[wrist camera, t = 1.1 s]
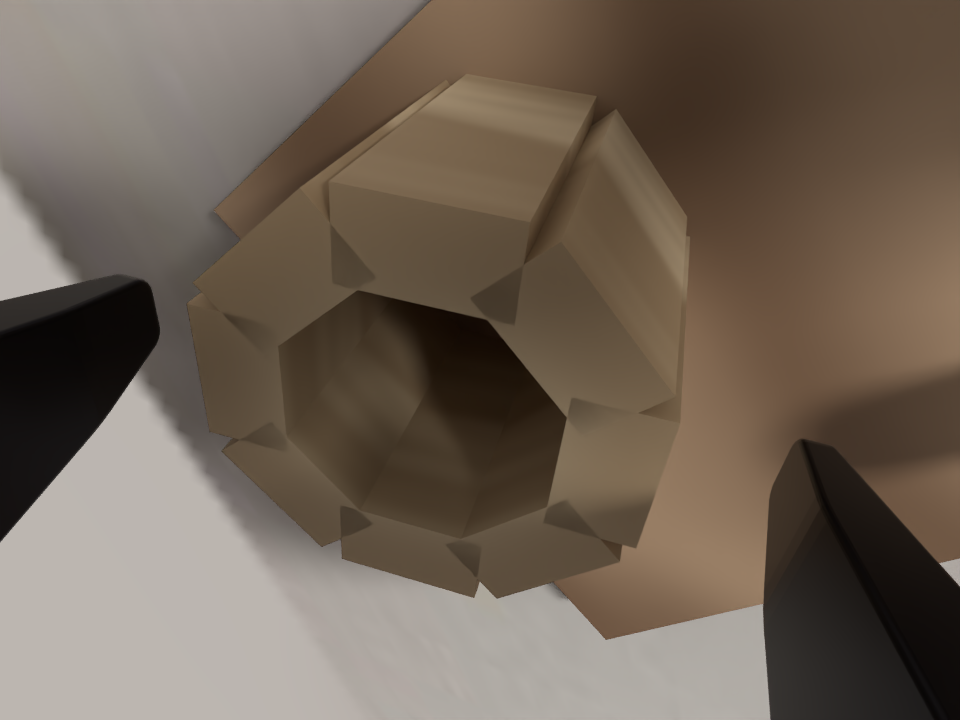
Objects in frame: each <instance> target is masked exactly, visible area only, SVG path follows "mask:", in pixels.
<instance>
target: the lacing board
mask: <svg viewBox="0 0 960 720" xmlns="http://www.w3.org/2000/svg"><path fill="white" fill-rule="evenodd" d="M466 74H470V75H475V76H481V77H487V78H493V79H499V80H505V81H511V82H517V83H523V84H528V85H534V86H540V87H546V88H552V89H558V90H564V91H570V92H575V93H581V94H587V95H593V96H597V98H596V104H595V109H594V114H593V119H592V125H591V126H593V125H594V124H595V123H597V122H598V121H600V120H601V119H602V118H604V117H605V116H607V115H608V114H610V113H611V112H612V111H614V110H615V109H617V111H618V112H619V114H620V115H621V117H622V118H623V120H624V121H625V123H626V124H627V126H628V127H629V129H630V131H631V132H632V134H633V135H634V137H635V138H636V140H637V141H638V143H639V144H640V146H641V147H642V149H643V150H644V152H645V153H646V155H647V156H648V158H649V159H650V161H651V162H652V164H653V166H654V167H655V169H656V170H657V172H658V173H659V175H660V176H661V178H662V179H663V181H664V182H665V184H666V185H667V187H668V188H669V190H670V191H671V193H672V194H673V196H674V197H675V199H676V201H677V202H678V204H679V205H680V207H681V208H682V210H683V211H684V213H685V214H686V216H687V228H686V236H689V237H690V249H689V268H688V287H687V305H686V324H685V343H684V362H683V381H682V399H681V418H680V426H679V428H678V431H677V434H676V437H675V440H674V443H673V445H672V448H671V451H670V454H669V457H668V460H667V463H666V465H665V468H664V471H663V474H662V477H661V480H660V482H659V485H658V488H657V491H656V494H655V497H654V500H653V502H652V505H651V508H650V511H649V514H648V517H647V519H646V522H645V525H644V528H643V531H642V534H641V537H640V539H639V542H638V545H637V548H632V547H629V546H625V545H622V551H621V558H620V562H619V563H615V564H612V565H609V566H605V567H602V568H599V569H595V570H592V571H588V572H585V573H582V574H578V575H575V576H572V577H568V578H565V579H561V580H558V581H555V582H554V583H555V584H556V586H557V587H558V588H559V589H560V590H561V591H562V592H563V593H564V594H565V595H566V596H567V598H568V599H569V600H570V601H571V602H572V603H573V604H574V605H575V606H576V607H577V609H578V610H579V611H580V612H581V613H582V614H583V615H584V616H585V617H586V618H587V619H588V621H589V622H590V623H591V624H592V625H593V626H594V627H595V628H596V629H597V630H598V632H599V633H600V634H601V635H602V636H603V637H604V638H605V639H606V640H607V639H612V638H616V637H620V636H625V635H629V634H633V633H638V632H642V631H646V630H651V629H655V628H659V627H664V626H668V625H672V624H677V623H681V622H685V621H690V620H694V619H698V618H703V617H707V616H711V615H716V614H720V613H724V612H729V611H733V610H737V609H742V608H746V607H750V606H755V605H759V604H763V599H764V578H765V561H766V543H767V525H768V508H769V498H770V493H771V489H772V486H773V483H774V481H775V479H776V477H777V475H778V473H779V471H780V469H781V467H782V465H783V463H784V461H785V459H786V457H787V455H788V453H789V451H790V449H791V447H792V445H793V444H794V443H795V442H796V441H797V440H799V439H801V438H804V439H808V440H812V441H817V442H821V443H825V444H829V445H832V446H833V447H835V448H836V449H837V450H838V451H839V452H840V453H841V454H842V456H843V457H844V458H845V459H846V460H847V461H848V462H849V463H850V464H851V466H852V467H853V468H854V469H855V470H856V471H857V472H858V473H859V475H860V476H861V477H862V478H863V479H864V480H865V481H866V482H867V483H868V485H869V486H870V487H871V488H872V489H873V490H874V491H875V492H876V494H877V495H878V496H879V497H880V498H881V499H882V500H883V501H884V502H885V504H886V505H887V506H888V507H889V508H890V509H891V510H892V511H893V512H894V514H895V515H896V516H897V517H898V518H899V519H900V520H901V521H902V523H903V524H904V525H905V526H906V527H907V528H908V529H909V530H910V531H911V533H912V534H913V535H914V536H915V537H916V538H917V539H918V540H919V542H920V543H921V544H922V545H923V546H924V547H925V548H926V549H927V550H928V552H929V553H930V554H931V555H932V556H933V557H934V558H935V559H936V561H937V562H938V563H941V562H946V561H950V560H954V559H959V558H960V0H431V1H430V2H429V3H428V4H427V5H426V6H425V7H424V8H423V9H422V10H421V11H420V12H419V13H418V14H417V15H416V16H415V17H414V18H413V19H412V20H411V21H410V22H409V23H407V24H406V25H405V26H404V27H403V28H402V29H401V30H400V31H399V32H398V33H397V34H396V35H395V36H394V37H393V38H392V39H391V40H390V41H389V42H388V43H387V44H386V45H385V46H384V47H383V48H382V49H380V50H379V51H378V52H377V53H376V54H375V55H374V56H373V57H372V58H371V59H370V60H369V61H368V62H367V63H366V64H365V65H364V66H363V67H362V68H361V69H360V70H359V71H358V72H357V73H356V74H354V75H353V76H352V77H351V78H350V79H349V80H348V81H347V82H346V83H345V84H344V85H343V86H342V87H341V88H340V89H339V90H338V91H337V92H336V93H335V94H334V95H333V96H332V97H331V98H330V99H328V100H327V101H326V102H325V103H324V104H323V105H322V106H321V107H320V108H319V109H318V110H317V111H316V112H315V113H314V114H313V115H312V116H311V117H310V118H309V119H308V120H307V121H306V122H305V123H304V124H303V125H301V126H300V127H299V128H298V129H297V130H296V131H295V132H294V133H293V134H292V135H291V136H290V137H289V138H288V139H287V140H286V141H285V142H284V143H283V144H282V145H281V146H280V147H279V148H278V149H277V150H275V151H274V152H273V153H272V154H271V155H270V156H269V157H268V158H267V159H266V160H265V161H264V162H263V163H262V164H261V165H260V166H259V167H258V168H257V169H256V170H255V171H254V172H253V173H252V174H251V175H250V176H248V177H247V178H246V179H245V180H244V181H243V182H242V183H241V184H240V185H239V186H238V187H237V188H236V189H235V190H234V191H233V192H232V193H231V194H230V195H229V196H228V197H227V198H226V199H225V200H224V201H222V202H221V203H220V204H219V205H218V206H217V207H216V208H215V209H214V211H215V212H216V213H217V214H218V216H219V217H220V218H221V219H222V220H223V221H224V222H225V223H226V224H227V225H228V226H229V228H230V229H231V230H232V231H233V232H234V233H235V234H236V235H237V236H238V237H239V239H240V240H241V239H242V238H244V237H245V236H246V235H247V234H248V233H249V232H250V231H251V230H253V229H254V228H255V227H256V226H257V225H258V224H259V223H261V222H262V221H263V220H264V219H265V218H266V217H267V216H268V215H270V214H271V213H272V212H273V211H274V210H275V209H276V208H277V207H279V206H280V205H281V204H282V203H283V202H284V201H285V200H286V199H288V198H289V197H290V196H291V195H292V194H293V193H294V192H296V191H297V190H298V189H299V188H300V187H301V186H303V185H304V184H306V183H307V182H308V181H310V180H311V179H312V178H314V177H315V176H316V175H318V174H319V173H320V172H322V171H323V170H324V169H326V168H327V167H328V166H330V165H331V164H333V163H334V162H335V161H337V160H338V159H339V158H341V157H342V156H343V155H345V154H346V153H347V152H349V151H350V150H351V149H353V148H354V147H356V146H357V145H358V144H360V143H361V142H362V141H364V140H365V139H366V138H368V137H369V136H370V135H372V134H373V133H374V132H376V131H377V130H378V129H380V128H381V127H383V126H384V125H385V124H387V123H388V122H389V121H391V120H392V119H393V118H395V117H396V116H397V115H399V114H400V113H401V112H403V111H404V110H406V109H407V108H408V107H410V106H411V105H412V104H414V103H415V102H416V101H418V100H419V99H420V98H422V97H423V96H424V95H426V94H427V93H429V92H430V91H431V90H433V89H434V88H435V87H437V86H438V85H439V84H441V83H442V82H443V81H445V80H447V81H448V83H449V84H450V86H452V85H453V84H454V83H455V82H457V81H458V80H459V79H461V78H462V77H463V76H464V75H466ZM445 311H446V312H447V313H448V314H449V316H450V317H451V318H452V319H453V320H454V322H455V323H456V324H457V325H458V326H459V328H460V329H461V330H466V331H470V332H474V333H478V334H483V335H487V336H491V337H496V338H500V339H502V337H501V336H500V335H499V334H498V332H497V331H496V330H495V329H494V327H493V326H492V325H491V324H490V323H489V321H488V320H486V319H482V318H478V317H473V316H469V315H465V314H460V313H456V312H451V311H447V310H445Z"/></svg>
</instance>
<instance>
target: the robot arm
mask: <svg viewBox="0 0 960 720" xmlns="http://www.w3.org/2000/svg"><path fill="white" fill-rule="evenodd" d="M159 335H160V326H159V321H158V317H157V312H156V307H155V302H154V298H153V293H152V289H151V287H150V286H149V284H148V283H147V282H146V281H144V280H142V279H138V278H134V277H130V276H126V275H112V276H108V277H103V278H99V279H95V280H90V281H86V282H82V283H77V284H73V285H68V286H64V287H60V288H55V289H51V290H47V291H43V292H38V293H34V294H29V295H25V296H20V297H16V298H12V299H8V300H3V301H0V542H1V541H2V540H3V538H4V537H5V536H6V535H7V534H8V533H9V531H10V530H11V529H12V528H13V527H14V526H15V524H16V523H17V522H18V521H19V520H20V519H21V517H22V516H23V515H24V514H25V513H26V511H27V510H28V509H29V508H30V507H31V506H32V504H33V503H34V502H35V501H36V500H37V499H38V497H39V496H40V495H41V494H42V493H43V491H45V489H46V488H47V487H48V486H49V485H50V484H51V482H52V481H53V480H54V479H55V478H56V476H57V475H58V474H59V473H60V472H61V471H62V470H63V468H64V467H65V466H66V465H67V464H68V462H69V461H70V460H71V459H72V458H73V457H74V456H75V454H76V453H77V452H78V451H79V450H80V449H81V447H82V446H83V445H84V444H85V442H87V440H88V439H89V438H90V437H91V436H92V434H93V433H94V432H95V431H96V430H97V428H98V427H99V426H100V424H101V423H102V422H103V421H104V419H105V418H106V416H107V415H108V414H109V412H110V411H111V410H112V408H113V407H114V405H115V404H116V402H117V401H118V399H119V398H120V396H121V395H122V393H123V392H124V391H125V389H126V388H127V386H128V385H129V383H130V382H131V381H132V379H133V378H134V376H135V375H136V373H137V372H138V371H139V369H140V368H141V366H142V365H143V363H144V362H145V360H146V359H147V358H148V356H149V355H150V353H151V352H152V350H153V349H154V347H155V346H156V344H157V342H158V339H159ZM763 618H764V636H765V650H766V664H767V677H768V691H769V705H770V719H771V720H960V586H959V585H958V584H957V583H956V582H955V581H954V579H953V578H952V577H951V576H950V575H949V574H948V573H947V572H946V571H945V569H944V568H943V567H942V566H941V565H940V564H939V563H938V562H937V561H936V559H935V558H934V557H933V556H932V555H931V554H930V553H929V552H928V550H927V549H926V548H925V547H924V546H923V545H922V544H921V543H920V542H919V540H918V539H917V538H916V537H915V536H914V535H913V534H912V533H911V531H910V530H909V529H908V528H907V527H906V526H905V525H904V524H903V523H902V521H901V520H900V519H899V518H898V517H897V516H896V515H895V514H894V512H893V511H892V510H891V509H890V508H889V507H888V506H887V505H886V504H885V502H884V501H883V500H882V499H881V498H880V497H879V496H878V495H877V494H876V492H875V491H874V490H873V489H872V488H871V487H870V486H869V485H868V483H867V482H866V481H865V480H864V479H863V478H862V477H861V476H860V475H859V473H858V472H857V471H856V470H855V469H854V468H853V467H852V466H851V464H850V463H849V462H848V461H847V460H846V459H845V458H844V457H843V456H842V454H841V453H840V452H839V451H838V450H837V449H836V448H835V447H833V446H832V445H829V444H825V443H821V442H817V441H812V440H808V439H804V438H801V439H799V440H797V441H796V442H795V443H794V444H793V445H792V447H791V449H790V451H789V453H788V455H787V457H786V459H785V461H784V463H783V465H782V467H781V469H780V471H779V473H778V475H777V477H776V479H775V481H774V483H773V486H772V489H771V493H770V498H769V508H768V525H767V543H766V561H765V578H764V599H763Z"/></svg>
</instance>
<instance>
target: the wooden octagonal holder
mask: <svg viewBox="0 0 960 720" xmlns="http://www.w3.org/2000/svg"><path fill="white" fill-rule="evenodd" d="M596 98H597V96H593V95H587V94H581V93H575V92H570V91H564V90H558V89H552V88H546V87H540V86H534V85H528V84H523V83H517V82H511V81H505V80H499V79H493V78H487V77H481V76H475V75H470V74H466V75H464V76H463V77H462V78H461V79H459V80H458V81H457V82H455V83H454V84H453V85H452V86H450V84H449V83H448V81H447V80H445V81H443V82H442V83H441V84H439V85H438V86H437V87H435V88H434V89H433V90H431V91H430V92H429V93H427V94H426V95H424V96H423V97H422V98H420V99H419V100H418V101H416V102H415V103H414V104H412V105H411V106H410V107H408V108H407V109H406V110H404V111H403V112H401V113H400V114H399V115H397V116H396V117H395V118H393V119H392V120H391V121H389V122H388V123H387V124H385V125H384V126H383V127H381V128H380V129H378V130H377V131H376V132H374V133H373V134H372V135H370V136H369V137H368V138H366V139H365V140H364V141H362V142H361V143H360V144H358V145H357V146H356V147H354V148H353V149H351V150H350V151H349V152H347V153H346V154H345V155H343V156H342V157H341V158H339V159H338V160H337V161H335V162H334V163H333V164H331V165H330V166H328V167H327V168H326V169H324V170H323V171H322V172H320V173H319V174H318V175H316V176H315V177H314V178H312V179H311V180H310V181H308V182H307V183H306V184H304V185H303V186H301V187H300V188H299V189H298V190H297V191H296V192H294V193H293V194H292V195H291V196H290V197H289V198H288V199H286V200H285V201H284V202H283V203H282V204H281V205H280V206H279V207H277V208H276V209H275V210H274V211H273V212H272V213H271V214H270V215H268V216H267V217H266V218H265V219H264V220H263V221H262V222H261V223H259V224H258V225H257V226H256V227H255V228H254V229H253V230H251V231H250V232H249V233H248V234H247V235H246V236H245V237H244V238H242V239H241V240H240V241H239V242H238V243H237V244H236V245H235V246H233V247H232V248H231V249H230V250H229V251H228V252H227V253H226V254H224V255H223V256H222V257H221V258H220V259H219V260H218V261H217V262H215V263H214V264H213V265H212V266H211V267H210V268H209V269H207V270H206V271H205V272H204V273H203V274H202V275H201V276H200V277H198V278H197V279H196V280H195V281H194V282H193V284H194V285H195V286H196V287H197V288H198V289H199V290H200V291H201V293H199V294H198V295H197V296H196V297H194V298H193V299H192V300H191V301H189V302H188V303H187V309H188V314H189V320H190V326H191V331H192V337H193V342H194V348H195V353H196V359H197V364H198V370H199V375H200V381H201V386H202V392H203V398H204V403H205V409H206V414H207V420H208V425H209V431H210V432H213V433H216V434H220V435H224V436H227V437H231V438H232V439H231V441H230V442H229V443H228V444H227V445H226V446H225V447H224V449H223V450H222V452H223V453H224V454H225V455H226V456H227V457H228V458H229V459H230V460H231V461H232V462H233V463H234V464H235V465H236V466H237V467H238V468H239V469H240V470H242V471H243V472H244V473H245V474H246V475H247V476H248V477H249V478H250V479H251V480H252V481H253V482H254V483H255V484H256V485H257V486H258V487H259V488H260V489H261V490H262V491H264V492H265V493H266V494H267V495H268V496H269V497H270V498H271V499H272V500H273V501H274V502H275V503H276V504H277V505H278V506H279V507H280V508H281V509H282V510H283V511H284V512H286V513H287V514H288V515H289V516H290V517H291V518H292V519H293V520H294V521H295V522H296V523H297V524H298V525H299V526H300V527H301V528H302V529H303V530H304V531H305V532H306V533H307V534H309V535H310V536H311V537H312V538H313V539H314V540H315V541H316V542H317V543H318V544H319V545H320V546H321V547H323V546H325V545H327V544H330V543H332V542H334V541H337V540H339V539H341V547H342V559H345V560H348V561H352V562H355V563H358V564H362V565H365V566H368V567H372V568H375V569H378V570H382V571H385V572H389V573H392V574H395V575H399V576H402V577H405V578H409V579H412V580H416V581H419V582H422V583H426V584H429V585H432V586H436V587H439V588H443V589H446V590H449V591H453V592H456V593H459V594H463V595H466V596H469V597H473V598H474V597H475V594H476V591H477V588H478V585H479V582H481V583H482V584H483V585H484V586H485V587H486V588H487V589H488V590H489V591H490V592H491V593H492V594H493V595H494V596H495V597H496V598H501V597H504V596H508V595H511V594H514V593H518V592H521V591H524V590H528V589H531V588H535V587H538V586H541V585H545V584H548V583H551V582H555V581H558V580H561V579H565V578H568V577H572V576H575V575H578V574H582V573H585V572H588V571H592V570H595V569H599V568H602V567H605V566H609V565H612V564H615V563H619V562H620V558H621V551H622V545H625V546H629V547H632V548H637V545H638V542H639V539H640V537H641V534H642V531H643V528H644V525H645V522H646V519H647V517H648V514H649V511H650V508H651V505H652V502H653V500H654V497H655V494H656V491H657V488H658V485H659V482H660V480H661V477H662V474H663V471H664V468H665V465H666V463H667V460H668V457H669V454H670V451H671V448H672V445H673V443H674V440H675V437H676V434H677V431H678V428H679V426H680V418H681V399H682V381H683V362H684V343H685V324H686V305H687V287H688V268H689V249H690V237H689V236H686V228H687V216H686V214H685V213H684V211H683V210H682V208H681V207H680V205H679V204H678V202H677V201H676V199H675V197H674V196H673V194H672V193H671V191H670V190H669V188H668V187H667V185H666V184H665V182H664V181H663V179H662V178H661V176H660V175H659V173H658V172H657V170H656V169H655V167H654V166H653V164H652V162H651V161H650V159H649V158H648V156H647V155H646V153H645V152H644V150H643V149H642V147H641V146H640V144H639V143H638V141H637V140H636V138H635V137H634V135H633V134H632V132H631V131H630V129H629V127H628V126H627V124H626V123H625V121H624V120H623V118H622V117H621V115H620V114H619V112H618V111H617V109H615V110H614V111H612V112H611V113H610V114H608V115H607V116H605V117H604V118H602V119H601V120H600V121H598V122H597V123H595V124H594V125H593V126H591V125H592V119H593V114H594V109H595V104H596ZM445 310H447V311H451V312H456V313H460V314H465V315H469V316H473V317H478V318H482V319H486V320H488V321H489V323H490V324H491V325H492V326H493V327H494V329H495V330H496V331H497V332H498V334H499V335H500V336H501V337H502V339H500V338H496V337H491V336H487V335H483V334H478V333H474V332H470V331H466V330H461V329H460V328H459V326H458V325H457V324H456V323H455V322H454V320H453V319H452V318H451V317H450V316H449V314H448V313H447V312H446V311H445Z"/></svg>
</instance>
